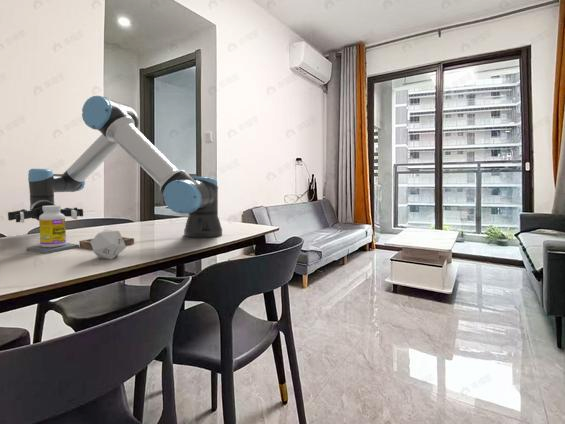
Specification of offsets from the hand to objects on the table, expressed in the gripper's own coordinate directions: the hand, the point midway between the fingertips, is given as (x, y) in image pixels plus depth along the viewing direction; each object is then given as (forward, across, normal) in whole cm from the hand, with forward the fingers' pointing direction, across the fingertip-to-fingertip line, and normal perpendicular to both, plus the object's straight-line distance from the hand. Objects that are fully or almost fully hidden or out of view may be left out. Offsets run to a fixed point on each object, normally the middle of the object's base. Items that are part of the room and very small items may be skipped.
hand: (50, 216), depth 99 cm
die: (+24, -11, -10) cm, 29 cm away
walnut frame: (+6, -15, -10) cm, 19 cm away
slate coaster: (+1, 0, -10) cm, 10 cm away
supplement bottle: (+1, 0, -10) cm, 10 cm away
